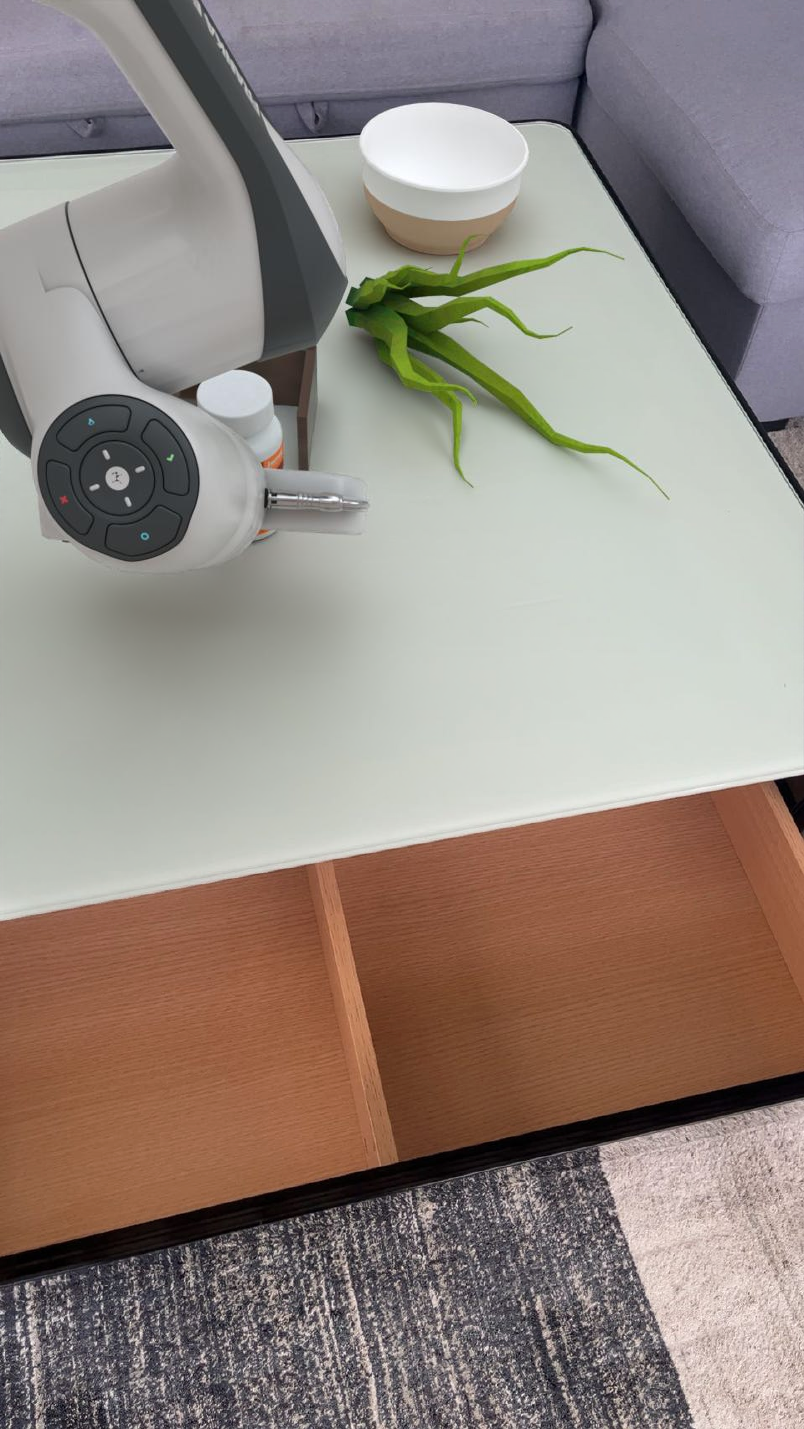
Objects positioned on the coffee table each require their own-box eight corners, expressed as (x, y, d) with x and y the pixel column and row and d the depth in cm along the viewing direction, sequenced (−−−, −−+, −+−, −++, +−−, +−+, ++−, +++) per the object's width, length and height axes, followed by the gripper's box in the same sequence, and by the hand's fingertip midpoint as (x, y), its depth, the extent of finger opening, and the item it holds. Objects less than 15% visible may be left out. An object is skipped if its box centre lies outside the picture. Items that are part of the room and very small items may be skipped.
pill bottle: (286, 544, 79) (280, 422, 70) (202, 544, 79) (186, 421, 70) (286, 488, 83) (281, 365, 74) (207, 487, 83) (191, 364, 73)
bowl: (497, 285, 100) (508, 204, 94) (335, 250, 102) (335, 168, 96) (532, 199, 109) (545, 120, 103) (383, 169, 111) (386, 89, 105)
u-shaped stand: (174, 464, 84) (165, 408, 79) (191, 392, 89) (183, 336, 84) (308, 472, 84) (307, 417, 80) (317, 401, 89) (316, 345, 85)
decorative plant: (449, 562, 80) (469, 403, 67) (338, 326, 95) (339, 162, 83) (663, 517, 83) (719, 359, 71) (523, 297, 99) (549, 137, 87)
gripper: (371, 448, 61) (376, 464, 75) (14, 425, 61) (84, 445, 74) (365, 559, 62) (371, 555, 76) (13, 536, 62) (83, 536, 75)
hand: (226, 500), depth 75 cm, fingers closed, pressing on pill bottle
